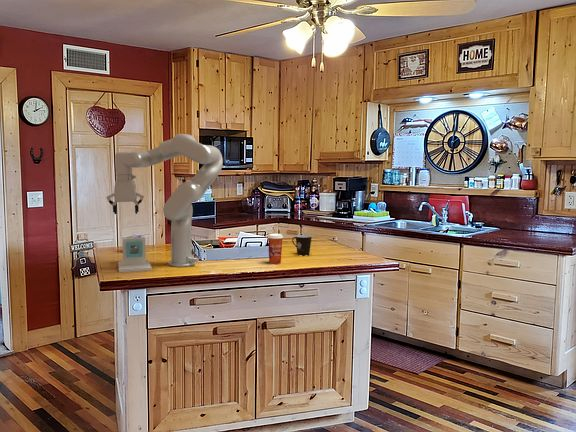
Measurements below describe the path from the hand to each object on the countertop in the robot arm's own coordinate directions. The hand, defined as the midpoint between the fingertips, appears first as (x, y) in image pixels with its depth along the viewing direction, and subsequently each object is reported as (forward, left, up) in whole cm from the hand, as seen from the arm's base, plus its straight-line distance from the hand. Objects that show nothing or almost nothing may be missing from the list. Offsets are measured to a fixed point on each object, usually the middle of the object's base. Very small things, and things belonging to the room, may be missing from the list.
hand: (126, 213), depth 254 cm
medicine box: (+10, -22, -24) cm, 34 cm away
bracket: (-10, +10, -23) cm, 27 cm away
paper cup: (-69, -21, -24) cm, 76 cm away
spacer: (-11, +12, -18) cm, 24 cm away
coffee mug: (-76, -47, -24) cm, 93 cm away
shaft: (-8, +7, -16) cm, 19 cm away
